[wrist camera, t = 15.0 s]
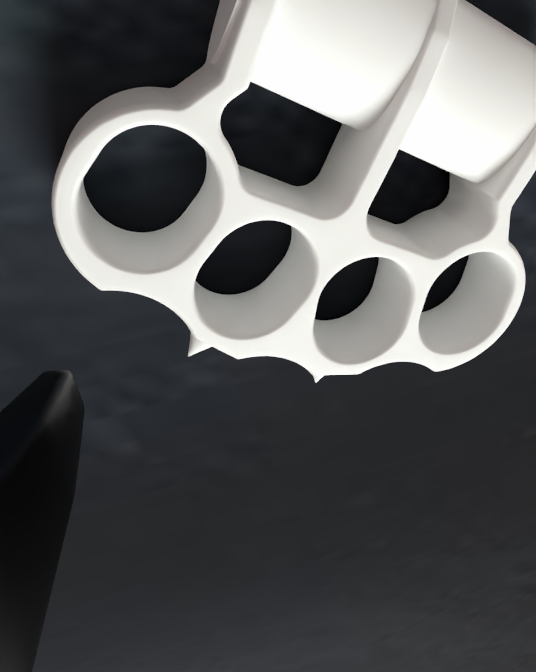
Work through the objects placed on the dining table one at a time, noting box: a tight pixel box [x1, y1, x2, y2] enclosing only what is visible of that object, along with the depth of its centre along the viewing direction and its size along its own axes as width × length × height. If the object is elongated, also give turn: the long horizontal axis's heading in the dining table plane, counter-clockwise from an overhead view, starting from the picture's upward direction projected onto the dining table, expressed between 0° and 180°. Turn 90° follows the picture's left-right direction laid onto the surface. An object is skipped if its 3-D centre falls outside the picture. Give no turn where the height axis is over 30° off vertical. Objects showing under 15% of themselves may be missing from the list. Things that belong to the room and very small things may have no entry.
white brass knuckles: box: [52, 0, 536, 382], centre depth 18 cm, size 3×18×15 cm
